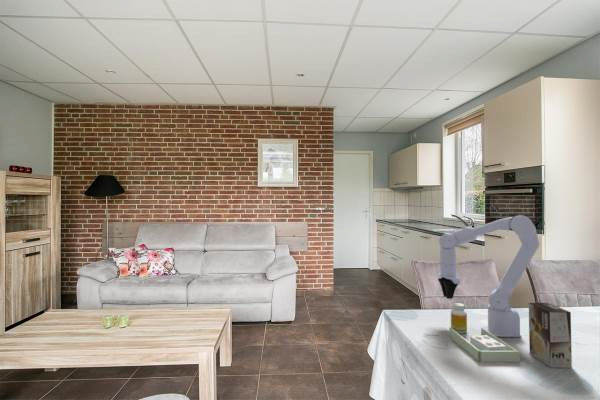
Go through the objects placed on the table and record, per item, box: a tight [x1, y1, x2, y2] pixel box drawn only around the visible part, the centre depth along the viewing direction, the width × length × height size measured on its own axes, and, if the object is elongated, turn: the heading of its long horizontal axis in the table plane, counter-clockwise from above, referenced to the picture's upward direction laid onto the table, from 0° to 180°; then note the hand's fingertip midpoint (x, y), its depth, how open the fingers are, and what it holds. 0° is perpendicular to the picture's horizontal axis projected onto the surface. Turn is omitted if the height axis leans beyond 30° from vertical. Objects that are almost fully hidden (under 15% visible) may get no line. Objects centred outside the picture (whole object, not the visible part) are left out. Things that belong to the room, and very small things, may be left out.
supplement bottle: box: [450, 302, 468, 334], centre depth 114 cm, size 5×5×10 cm
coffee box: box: [528, 302, 573, 369], centre depth 93 cm, size 9×6×16 cm
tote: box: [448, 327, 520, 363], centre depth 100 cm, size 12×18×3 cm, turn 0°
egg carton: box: [469, 335, 506, 351], centre depth 97 cm, size 6×8×5 cm
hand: (448, 297), depth 122 cm, fingers closed
